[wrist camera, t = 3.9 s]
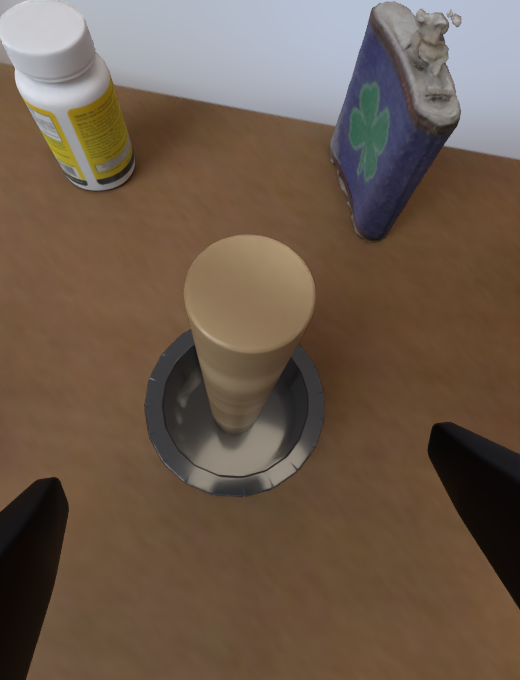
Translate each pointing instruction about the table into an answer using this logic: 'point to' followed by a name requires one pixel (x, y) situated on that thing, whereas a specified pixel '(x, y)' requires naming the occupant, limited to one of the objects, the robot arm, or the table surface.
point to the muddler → (246, 321)
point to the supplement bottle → (68, 92)
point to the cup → (228, 449)
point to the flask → (394, 114)
